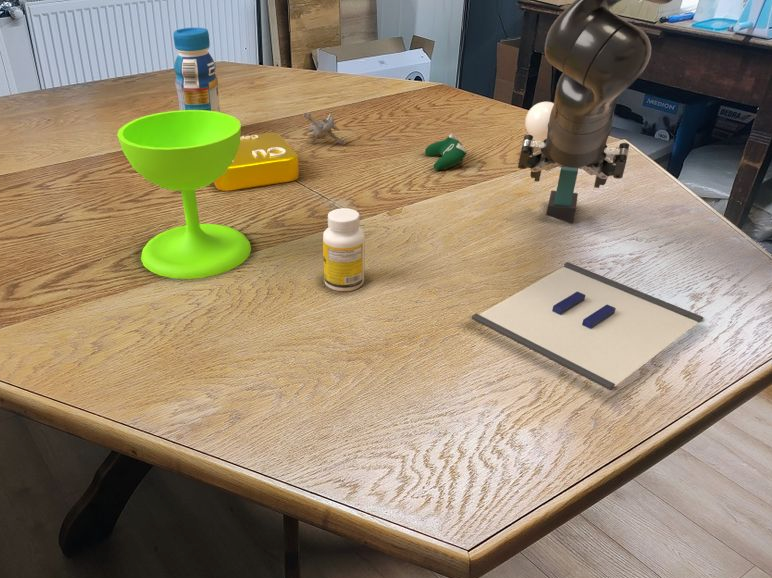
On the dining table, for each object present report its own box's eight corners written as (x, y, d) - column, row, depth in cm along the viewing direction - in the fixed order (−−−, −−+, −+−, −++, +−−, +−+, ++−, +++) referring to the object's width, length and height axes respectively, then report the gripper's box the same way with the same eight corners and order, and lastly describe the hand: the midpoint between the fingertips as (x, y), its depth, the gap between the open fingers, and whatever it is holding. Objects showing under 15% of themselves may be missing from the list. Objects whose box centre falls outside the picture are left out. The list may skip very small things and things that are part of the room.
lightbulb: (553, 159, 125) (565, 97, 119) (555, 171, 120) (568, 108, 114) (518, 157, 127) (527, 96, 120) (518, 169, 122) (528, 106, 115)
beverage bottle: (174, 134, 143) (159, 31, 131) (207, 125, 147) (196, 24, 135) (197, 144, 137) (184, 37, 126) (231, 134, 142) (221, 29, 130)
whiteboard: (565, 272, 92) (567, 261, 91) (699, 328, 80) (703, 316, 79) (470, 326, 82) (471, 315, 81) (607, 399, 70) (611, 387, 69)
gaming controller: (446, 181, 123) (472, 157, 121) (433, 167, 121) (459, 142, 119) (435, 162, 130) (459, 140, 128) (422, 149, 129) (446, 126, 126)
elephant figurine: (340, 133, 141) (356, 130, 132) (325, 158, 141) (340, 156, 133) (301, 104, 137) (316, 98, 129) (286, 129, 137) (299, 126, 129)
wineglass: (273, 249, 99) (266, 125, 89) (185, 291, 90) (165, 159, 80) (205, 218, 109) (191, 103, 98) (119, 253, 100) (93, 130, 89)
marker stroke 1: (575, 296, 84) (577, 291, 84) (584, 300, 84) (585, 294, 83) (551, 311, 82) (553, 305, 81) (560, 315, 81) (561, 309, 81)
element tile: (278, 153, 132) (277, 128, 129) (302, 180, 120) (301, 154, 118) (202, 163, 128) (199, 138, 126) (218, 193, 117) (215, 166, 114)
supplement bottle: (332, 269, 94) (331, 203, 88) (369, 276, 92) (371, 208, 87) (317, 288, 90) (316, 220, 84) (356, 295, 88) (357, 226, 83)
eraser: (572, 223, 104) (583, 173, 99) (545, 220, 105) (554, 170, 100) (574, 208, 108) (585, 158, 103) (548, 205, 109) (557, 156, 105)
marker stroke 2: (605, 309, 82) (606, 303, 81) (614, 313, 81) (616, 307, 81) (581, 325, 79) (583, 319, 79) (590, 329, 79) (592, 323, 78)
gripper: (644, 103, 86) (622, 160, 101) (527, 94, 90) (523, 151, 105) (634, 158, 85) (613, 208, 100) (516, 147, 89) (513, 196, 105)
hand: (567, 178), depth 103 cm, fingers open, 8 cm apart
